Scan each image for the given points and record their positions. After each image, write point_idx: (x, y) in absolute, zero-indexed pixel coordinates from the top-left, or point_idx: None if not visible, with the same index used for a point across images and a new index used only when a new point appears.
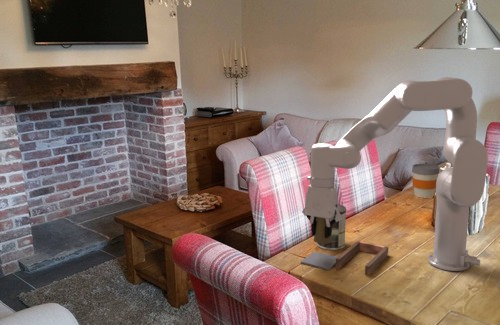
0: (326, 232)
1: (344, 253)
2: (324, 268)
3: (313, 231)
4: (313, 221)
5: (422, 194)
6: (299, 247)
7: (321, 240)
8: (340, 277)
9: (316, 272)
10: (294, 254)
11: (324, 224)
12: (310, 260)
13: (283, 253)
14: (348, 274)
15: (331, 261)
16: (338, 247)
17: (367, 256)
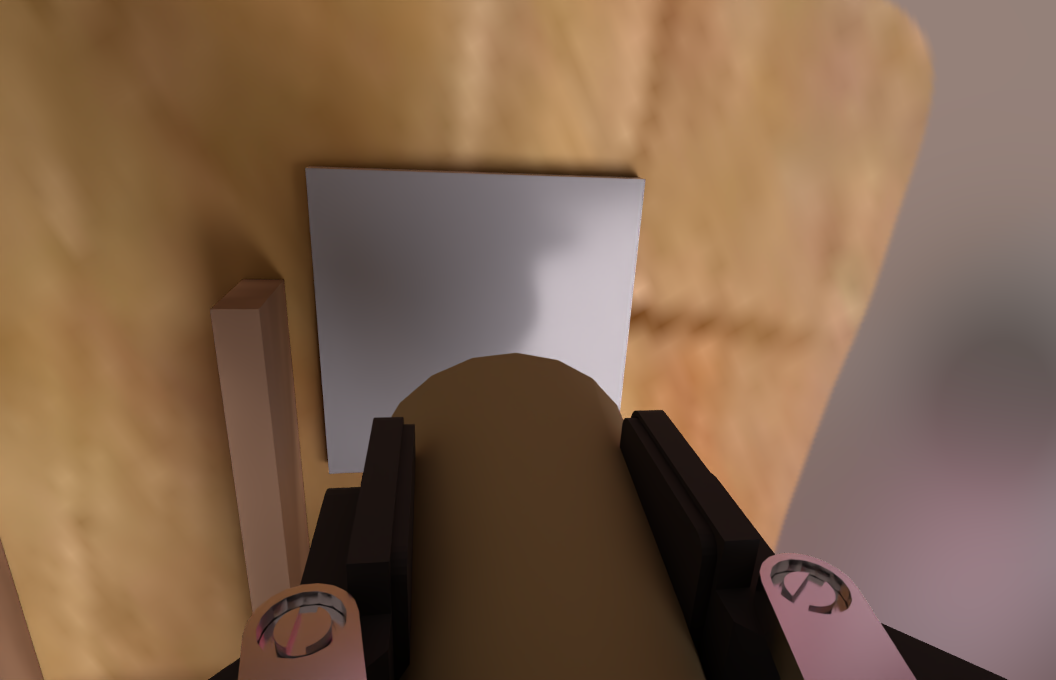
0: (365, 478)
1: (256, 483)
2: (356, 169)
3: (657, 449)
4: (766, 615)
5: None
6: (772, 479)
7: (471, 387)
8: (98, 67)
9: (396, 49)
10: (765, 330)
11: (460, 648)
12: (567, 258)
13: (865, 295)
14: (72, 191)
15: (369, 349)
16: None
17: (164, 634)
